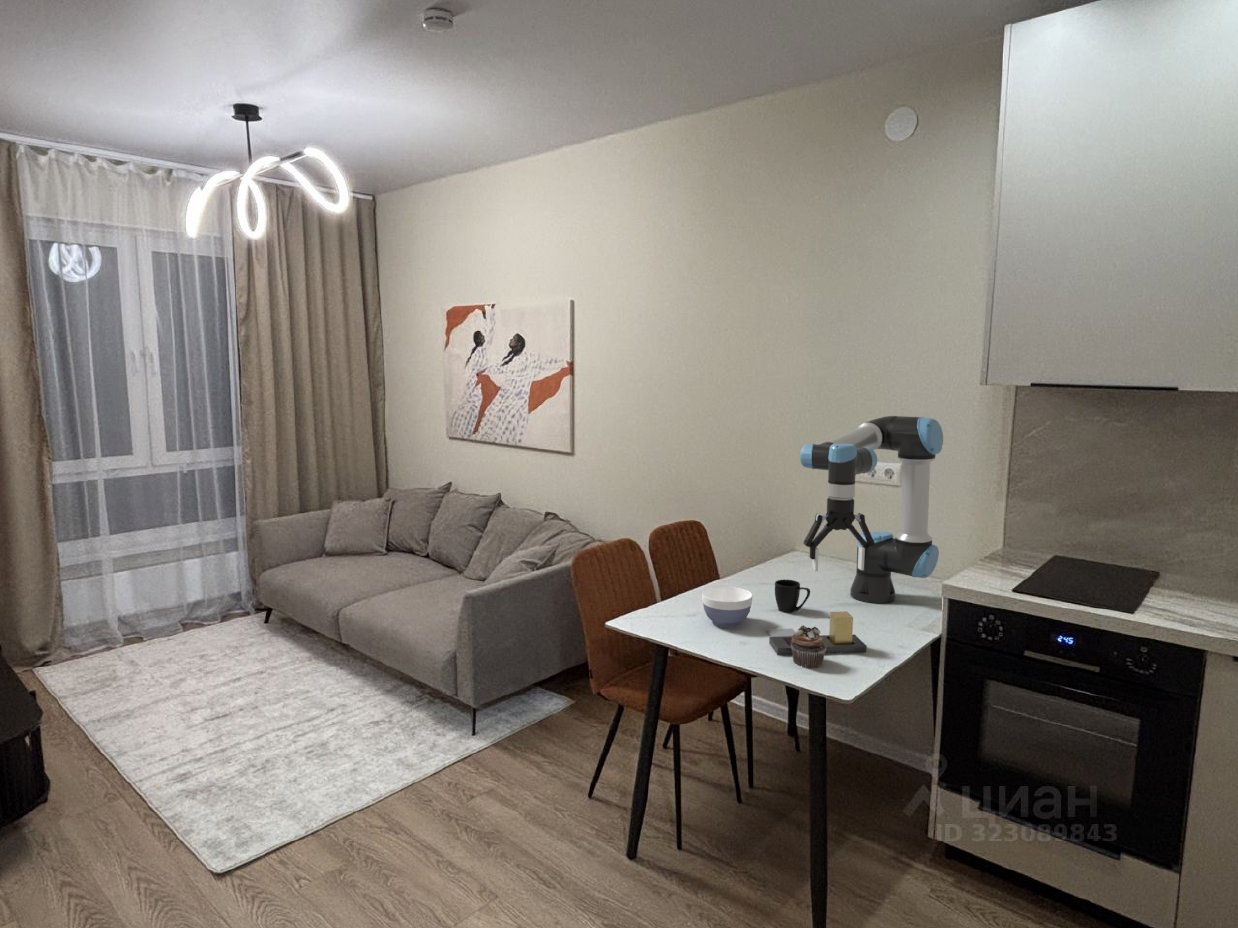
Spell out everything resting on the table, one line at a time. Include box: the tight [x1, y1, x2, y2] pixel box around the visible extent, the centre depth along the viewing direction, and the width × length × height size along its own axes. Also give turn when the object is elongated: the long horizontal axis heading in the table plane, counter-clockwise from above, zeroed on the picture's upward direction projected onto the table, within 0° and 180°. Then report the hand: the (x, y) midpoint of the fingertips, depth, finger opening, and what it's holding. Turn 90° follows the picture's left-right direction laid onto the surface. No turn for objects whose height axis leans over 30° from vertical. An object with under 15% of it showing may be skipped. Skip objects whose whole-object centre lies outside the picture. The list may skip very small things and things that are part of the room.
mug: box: [774, 579, 811, 614], centre depth 252 cm, size 8×12×10 cm
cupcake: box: [790, 624, 826, 669], centre depth 210 cm, size 10×10×10 cm
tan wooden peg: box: [828, 610, 854, 645], centre depth 220 cm, size 5×5×10 cm
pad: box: [766, 628, 796, 637], centre depth 231 cm, size 8×8×1 cm
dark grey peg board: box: [768, 634, 867, 656], centre depth 220 cm, size 26×9×2 cm, turn 94°
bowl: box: [701, 586, 753, 629], centre depth 241 cm, size 16×16×10 cm
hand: (837, 569), depth 219 cm, fingers open, 13 cm apart
